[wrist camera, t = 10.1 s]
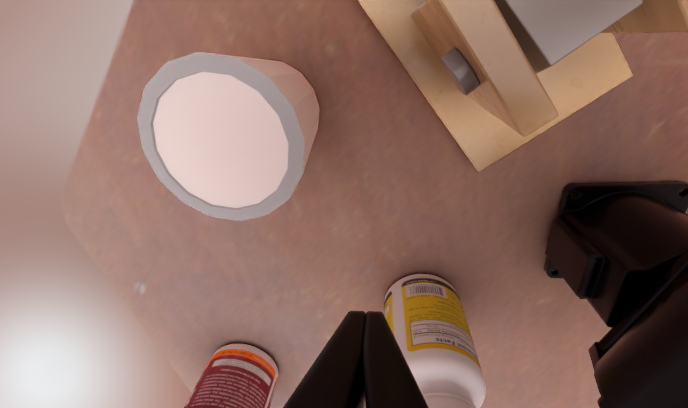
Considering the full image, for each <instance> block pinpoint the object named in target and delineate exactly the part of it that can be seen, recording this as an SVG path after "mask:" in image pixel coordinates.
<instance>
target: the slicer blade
mask: <svg viewBox="0 0 688 408" xmlns="http://www.w3.org/2000/svg"><path fill="white" fill-rule="evenodd" d="M494 1H495V3H496V5H497V6H498V8H499V10H500V12H501V13H502V15H503V17H504V19H505V20H506V22H507V24H508V26H509V27H510V29H511V31H512V33H513V34H514V36H515V38H516V40H517V41H518V43H519V45H520V47H521V48H522V50H523V52H524V54H525V55H526V57H527V59H528V61H529V62H530V64H531V66H532V68H533V69H534V71H535V73H536V74H537V73H539V72H541V71H543V70H545V69H547V68H549V67H551V66H553V65H554V64H556V63H557V62H559V61H560V60H562V59H563V58H564V57H566V56H567V55H569V54H570V53H572V52H573V51H575V50H576V49H577V48H579V47H580V46H582V45H583V44H585V43H586V42H588V41H589V40H590V39H592V38H593V37H595V36H596V35H598V34H599V33H601V32H602V31H603V30H605V29H606V28H608V27H609V26H611V25H612V24H614V23H615V22H617V21H618V20H619V19H621V18H622V17H624V16H625V15H627V14H628V13H630V12H631V11H632V10H634V9H635V8H637V7H638V6H640V5H641V4H642V3H643V1H642V0H494Z"/></svg>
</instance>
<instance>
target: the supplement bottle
mask: <svg viewBox="0 0 688 408" xmlns="http://www.w3.org/2000/svg"><path fill="white" fill-rule="evenodd" d="M384 316H385V318H386V320H387V322H388V324H389V326H390V329H391V331H392V333H393V335H394V337H395V339H396V341H397V343H398V345H399V347H400V349H401V351H402V353H403V355H404V358H405V360H406V362H407V364H408V366H409V368H410V370H411V372H412V374H413V376H414V378H415V380H416V382H417V384H418V387H419V389H420V391H421V393H422V395H423V397H424V399H425V401H426V403H427V405H428V407H429V408H480V407H481V405H482V403H483V401H484V398H485V392H486V389H485V381H484V377H483V373H482V370H481V367H480V363H479V360H478V357H477V354H476V350H475V347H474V344H473V340H472V337H471V334H470V330H469V327H468V324H467V321H466V317H465V314H464V311H463V308H462V305H461V302H460V299H459V296H458V294H457V292H456V290H455V289H454V287H453V286H452V285H451V284H450V283H448V282H447V281H445V280H444V279H442V278H440V277H437V276H434V275H430V274H414V275H410V276H407V277H404V278H402V279H400V280H398V281H397V282H395V283H394V284H393V285H392V286H391V287H390V288H389V290H388V292H387V293H386V296H385V300H384Z"/></svg>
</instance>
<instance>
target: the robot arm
mask: <svg viewBox="0 0 688 408" xmlns="http://www.w3.org/2000/svg"><path fill="white" fill-rule="evenodd" d="M682 189H683V191H682V192H681V193H679V191H680V190H682ZM574 190H577V192H576V193H575V194H574V195H571V193H572V192H573V191H574ZM687 208H688V183H686V182H682V181H674V182H614V183H573V184H569V185H567V186H566V187H565V188H564V191H563V194H562V198H561V202H560V206H559V210H558V214H557V217H556V218H555V219H554V220H553V224H552V228H551V232H550V236H549V240H548V244H547V249H546V255H547V259H546V263H545V267H544V270H545V272H546V273H547V275H548V276H549V277H551V278H564V279H565V281H566V282H567V283H568V285H569V286H570V287H571V289H572V290H573V291H574V293H575V294H576V295H577V296H578V297H579V298H580V299H587V300H588V301H589V303H590V304H591V305H592V307H593V308H594V309H595V311H596V312H597V313H598V314H599V316H600V317H601V318H602V320H603V321H604V322H605V324H606V325H607V326H608V327H613V328H612V329H611V330H610V331H609V332H608V333H607V334H606V335H605V336H604V337H603V338H602V339H601V340H600V341H599V342H595V343H594V344H593V345H592V346H591V347H590V348H589V353H590V357H591V360H592V364H593V368H594V372H595V373H594V376H595V379H596V382H597V386H598V389H599V392H600V394H601V397H600V398H599V399H598V405H599V407H600V408H688V214H687V213H685V212H686V210H687ZM553 269H556V270H554V271H552V270H553ZM365 405H366V408H429V407H428V405H427V403H426V401H425V399H424V397H423V395H422V393H421V391H420V389H419V387H418V384H417V382H416V380H415V378H414V376H413V374H412V372H411V370H410V368H409V366H408V364H407V362H406V360H405V358H404V355H403V353H402V351H401V349H400V347H399V345H398V343H397V341H396V339H395V337H394V335H393V333H392V331H391V329H390V326H389V324H388V322H387V320H386V318H385V316H384V314H383V313H382V312H374V311H368V312H367V313H365V312H364V311H350V312H348V314H347V315H346V316H345V318H344V319H343V321H342V322H341V324H340V325H339V327H338V328H337V330H336V331H335V333H334V334H333V335H332V337H331V338H330V340H329V341H328V343H327V344H326V346H325V347H324V349H323V350H322V352H321V353H320V355H319V356H318V357H317V359H316V360H315V362H314V363H313V365H312V366H311V368H310V369H309V371H308V372H307V374H306V375H305V376H304V378H303V379H302V381H301V382H300V384H299V385H298V387H297V388H296V390H295V391H294V393H293V394H292V395H291V397H290V398H289V400H288V401H287V403H286V404H285V406H284V407H283V408H365Z"/></svg>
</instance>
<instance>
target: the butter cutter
mask: <svg viewBox="0 0 688 408" xmlns="http://www.w3.org/2000/svg"><path fill="white" fill-rule="evenodd" d="M357 1H358V2H359V4H360V5H361V7H362V8H363V9H364V11H365V12H366V14H367V15H368V16H369V18H370V19H371V21H372V22H373V24H374V25H375V26H376V28H377V29H378V31H379V32H380V34H381V35H382V36H383V38H384V39H385V41H386V42H387V44H388V45H389V46H390V48H391V49H392V51H393V52H394V54H395V55H396V56H397V58H398V59H399V61H400V62H401V64H402V65H403V66H404V68H405V69H406V71H407V72H408V74H409V75H410V76H411V78H412V79H413V81H414V82H415V84H416V85H417V86H418V88H419V89H420V91H421V92H422V94H423V95H424V96H425V98H426V99H427V101H428V102H429V104H430V105H431V106H432V108H433V109H434V111H435V112H436V114H437V115H438V116H439V118H440V119H441V121H442V122H443V123H444V125H445V126H446V128H447V129H448V131H449V132H450V133H451V135H452V136H453V138H454V139H455V141H456V142H457V143H458V145H459V146H460V148H461V149H462V151H463V152H464V153H465V155H466V156H467V158H468V159H469V161H470V162H471V163H472V165H473V166H474V168H475V169H476V171H477V172H480V171H482V170H483V169H485V168H486V167H488V166H490V165H491V164H493V163H494V162H496V161H498V160H499V159H501V158H502V157H504V156H506V155H507V154H509V153H510V152H512V151H514V150H515V149H517V148H518V147H520V146H522V145H523V144H525V143H526V142H528V141H530V140H531V139H533V138H534V137H536V136H538V135H539V134H541V133H542V132H544V131H546V130H547V129H549V128H550V127H552V126H554V125H555V124H557V123H558V122H560V121H562V120H563V119H565V118H566V117H568V116H570V115H571V114H573V113H574V112H576V111H578V110H579V109H581V108H582V107H584V106H586V105H587V104H589V103H590V102H592V101H594V100H595V99H597V98H598V97H600V96H602V95H603V94H605V93H606V92H608V91H610V90H611V89H613V88H614V87H616V86H618V85H619V84H621V83H622V82H624V81H626V80H627V79H629V78H630V77H632V76H633V75H632V73H631V70H630V68H629V66H628V64H627V62H626V60H625V58H624V56H623V54H622V51H621V49H620V47H619V45H618V43H617V41H616V39H615V37H614V34H613V33H650V32H688V0H642V1H643V3H642V4H641V5H640V6H638V7H637V8H635V9H634V10H632V11H631V12H630V13H628V14H627V15H625V16H624V17H622V18H621V19H619V20H618V21H617V22H615V23H614V24H612V25H611V26H609V27H608V28H606V29H605V30H603V31H602V32H601V33H599V34H598V35H596V36H595V37H593V38H592V39H590V40H589V41H588V42H586V43H585V44H583V45H582V46H580V47H579V48H577V49H576V50H575V51H573V52H572V53H570V54H569V55H567V56H566V57H564V58H563V59H562V60H560V61H559V62H557V63H556V64H554V65H553V66H551V67H549V68H547V69H545V70H543V71H541V72H539V73H537V74H536V73H535V71H534V69H533V68H532V66H531V64H530V62H529V61H528V59H527V57H526V55H525V54H524V52H523V50H522V48H521V47H520V45H519V43H518V41H517V40H516V38H515V36H514V34H513V33H512V31H511V29H510V27H509V26H508V24H507V22H506V20H505V19H504V17H503V15H502V13H501V12H500V10H499V8H498V6H497V5H496V3H495V1H494V0H357Z"/></svg>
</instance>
